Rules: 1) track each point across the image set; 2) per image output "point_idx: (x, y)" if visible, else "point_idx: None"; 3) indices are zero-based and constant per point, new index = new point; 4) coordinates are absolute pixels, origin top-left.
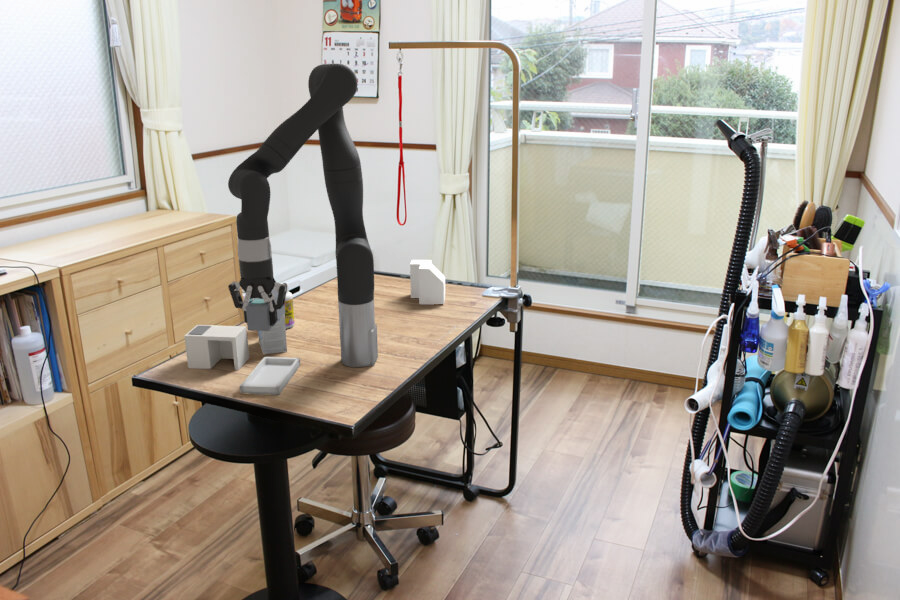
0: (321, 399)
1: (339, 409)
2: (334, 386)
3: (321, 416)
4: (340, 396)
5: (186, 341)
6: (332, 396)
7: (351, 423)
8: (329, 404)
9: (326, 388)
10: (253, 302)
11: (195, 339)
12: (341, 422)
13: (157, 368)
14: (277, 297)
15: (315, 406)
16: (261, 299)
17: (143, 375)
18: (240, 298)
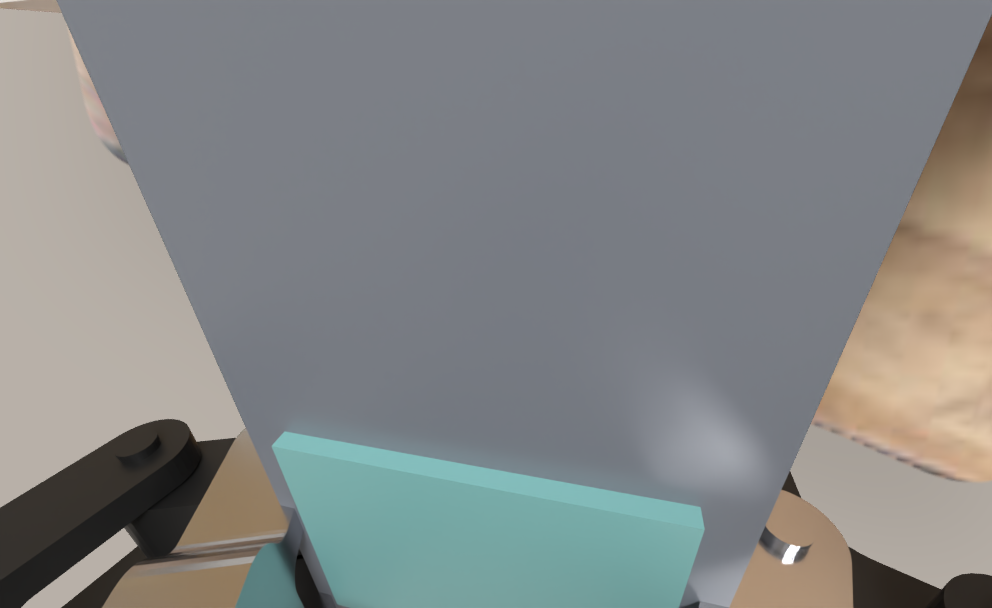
0: (874, 307)
1: (955, 389)
2: (976, 167)
3: (862, 429)
4: (989, 280)
5: (25, 9)
6: (940, 280)
7: (988, 479)
8: (911, 350)
9: (917, 195)
10: (365, 597)
11: (51, 3)
12: (944, 470)
13: (76, 46)
14: (923, 67)
15: (840, 362)
16: (427, 483)
17: (94, 125)
18: (78, 554)
